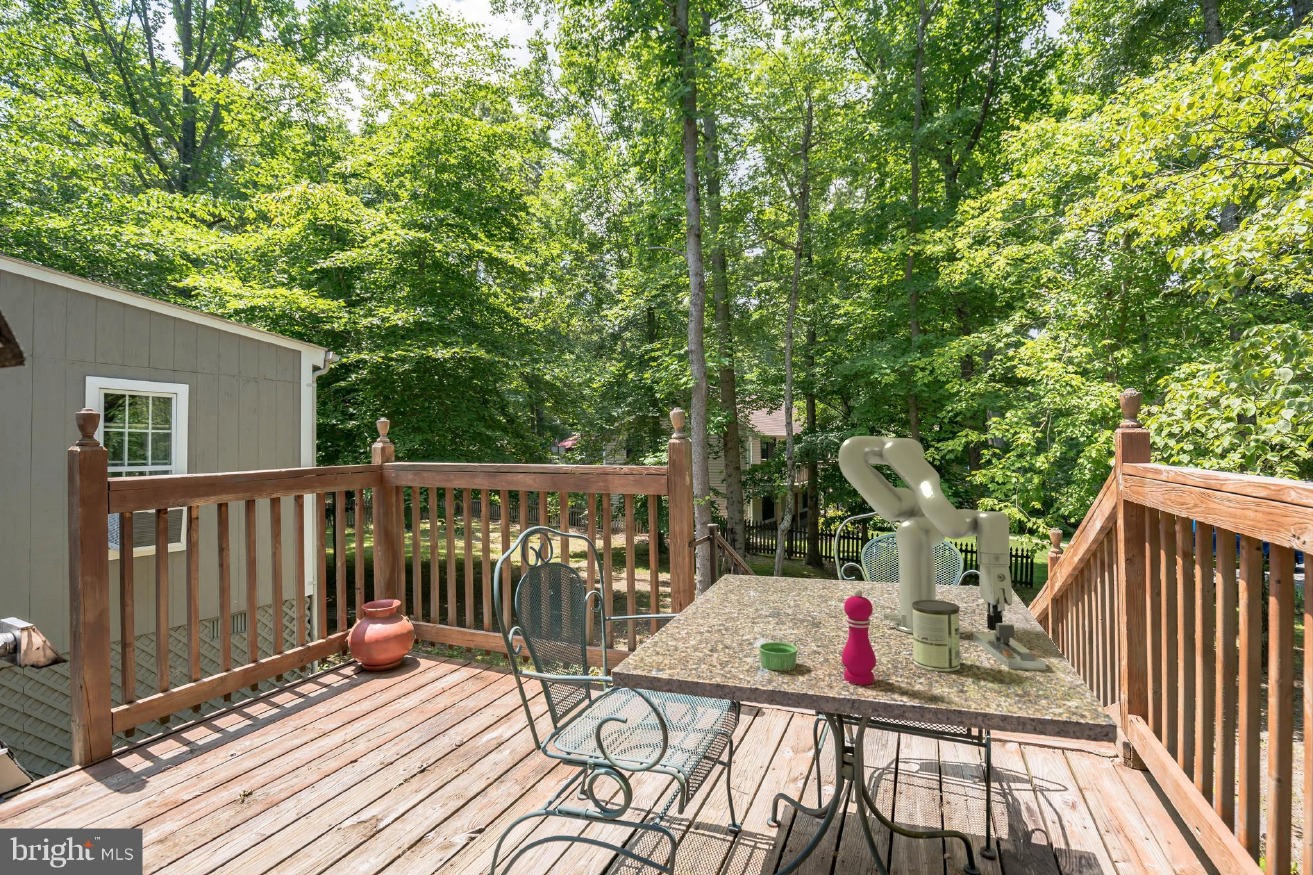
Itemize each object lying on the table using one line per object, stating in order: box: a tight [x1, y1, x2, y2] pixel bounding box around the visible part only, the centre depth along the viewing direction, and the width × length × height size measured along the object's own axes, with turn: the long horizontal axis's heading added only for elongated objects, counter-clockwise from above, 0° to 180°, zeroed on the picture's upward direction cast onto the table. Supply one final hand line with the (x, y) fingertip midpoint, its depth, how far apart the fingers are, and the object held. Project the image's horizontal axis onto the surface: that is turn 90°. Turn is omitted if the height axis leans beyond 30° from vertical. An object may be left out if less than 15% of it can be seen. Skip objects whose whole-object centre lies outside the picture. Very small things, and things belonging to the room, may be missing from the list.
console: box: [972, 632, 1046, 671], centre depth 161 cm, size 8×23×4 cm, turn 173°
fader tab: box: [995, 622, 1015, 643], centre depth 163 cm, size 4×2×5 cm, turn 83°
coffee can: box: [912, 599, 961, 673], centre depth 153 cm, size 10×10×14 cm
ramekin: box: [758, 641, 799, 671], centre depth 153 cm, size 9×9×4 cm
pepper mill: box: [841, 588, 877, 686], centre depth 143 cm, size 7×7×20 cm
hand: (995, 629), depth 170 cm, fingers closed
